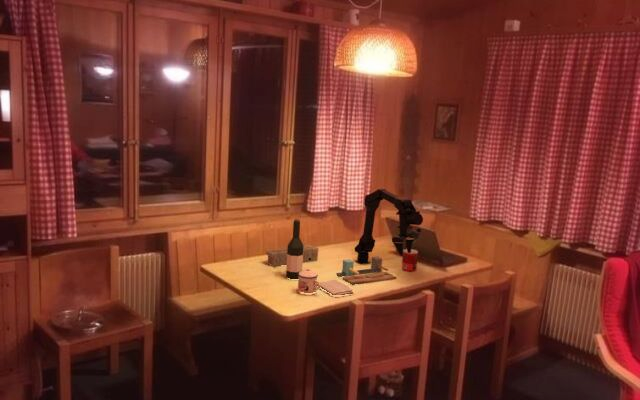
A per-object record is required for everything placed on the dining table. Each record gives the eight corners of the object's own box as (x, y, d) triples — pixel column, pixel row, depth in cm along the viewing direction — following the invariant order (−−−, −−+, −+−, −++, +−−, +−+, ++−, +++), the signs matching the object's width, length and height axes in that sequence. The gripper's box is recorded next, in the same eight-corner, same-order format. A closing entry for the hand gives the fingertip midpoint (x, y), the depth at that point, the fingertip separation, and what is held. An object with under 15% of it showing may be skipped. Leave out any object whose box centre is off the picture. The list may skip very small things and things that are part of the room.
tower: (309, 259, 323) (264, 263, 307) (311, 244, 322) (265, 248, 305) (317, 263, 317) (271, 267, 300) (318, 248, 315) (272, 252, 299)
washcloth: (334, 299, 262) (334, 293, 261) (313, 287, 276) (314, 280, 276) (355, 295, 268) (355, 289, 267) (333, 283, 283) (334, 277, 282)
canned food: (415, 273, 306) (417, 253, 303) (400, 271, 307) (402, 251, 305) (416, 269, 313) (418, 249, 311) (401, 267, 314) (403, 248, 312)
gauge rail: (335, 275, 294) (336, 261, 293) (378, 269, 307) (379, 256, 306) (347, 282, 284) (348, 268, 282) (391, 276, 297) (392, 263, 296)
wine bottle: (305, 276, 289) (308, 219, 283) (297, 281, 281) (300, 222, 276) (290, 273, 292) (293, 216, 286) (282, 278, 285) (285, 219, 279)
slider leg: (341, 273, 296) (342, 259, 295) (348, 272, 298) (349, 259, 297) (354, 281, 286) (355, 266, 284) (361, 280, 288) (362, 266, 286)
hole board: (342, 279, 288) (342, 276, 288) (385, 273, 301) (386, 271, 301) (352, 285, 280) (352, 282, 280) (396, 279, 294) (396, 276, 293)
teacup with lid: (293, 291, 267) (294, 267, 265) (306, 287, 274) (307, 264, 272) (312, 298, 259) (313, 274, 257) (325, 294, 266) (326, 270, 264)
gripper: (411, 226, 276) (412, 258, 277) (427, 222, 291) (427, 252, 292) (391, 225, 282) (391, 256, 283) (407, 221, 297) (407, 251, 298)
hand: (405, 254), depth 289 cm, fingers open, 9 cm apart
